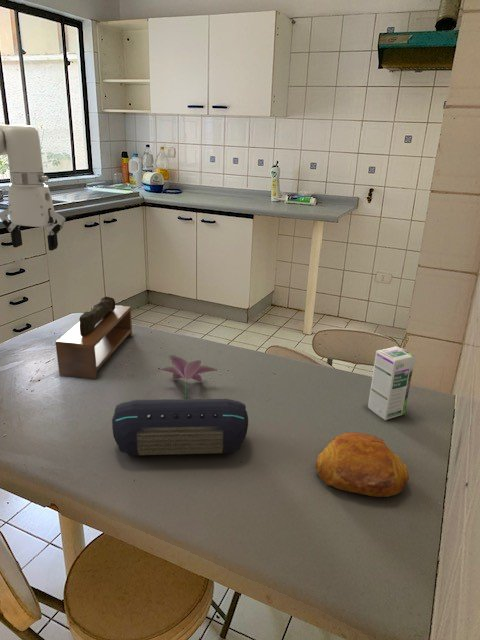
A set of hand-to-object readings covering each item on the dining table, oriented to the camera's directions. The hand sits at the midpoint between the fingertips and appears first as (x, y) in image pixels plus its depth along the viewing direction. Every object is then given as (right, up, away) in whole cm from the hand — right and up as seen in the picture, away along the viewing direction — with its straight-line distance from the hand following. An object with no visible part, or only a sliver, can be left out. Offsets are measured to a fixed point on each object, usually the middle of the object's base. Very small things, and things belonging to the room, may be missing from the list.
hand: (35, 247), depth 120 cm
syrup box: (+85, -39, -18) cm, 96 cm away
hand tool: (+17, -20, -1) cm, 26 cm away
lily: (+41, -35, -12) cm, 55 cm away
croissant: (+75, -47, -37) cm, 95 cm away
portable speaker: (+42, -43, -32) cm, 68 cm away
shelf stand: (+16, -28, +3) cm, 32 cm away
